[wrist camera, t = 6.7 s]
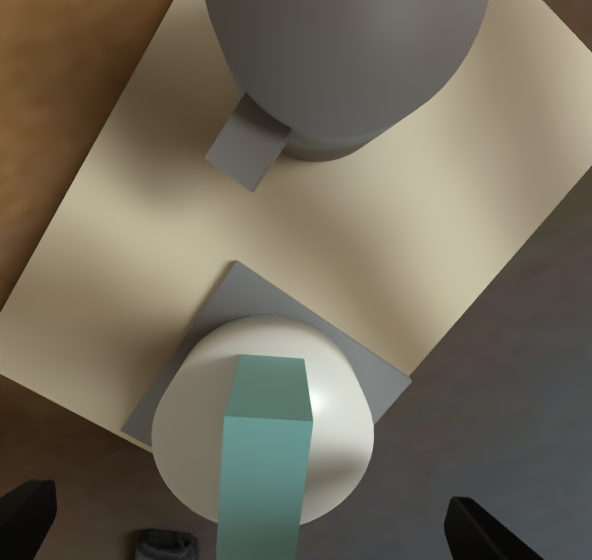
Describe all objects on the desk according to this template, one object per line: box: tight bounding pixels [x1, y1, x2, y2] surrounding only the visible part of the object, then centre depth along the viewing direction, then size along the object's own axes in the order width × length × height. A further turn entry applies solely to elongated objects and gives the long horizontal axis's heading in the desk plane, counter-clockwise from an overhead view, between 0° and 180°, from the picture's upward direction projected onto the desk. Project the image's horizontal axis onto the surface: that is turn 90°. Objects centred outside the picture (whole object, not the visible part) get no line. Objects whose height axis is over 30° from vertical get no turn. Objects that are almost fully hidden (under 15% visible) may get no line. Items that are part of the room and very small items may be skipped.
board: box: [0, 0, 592, 453], centre depth 8 cm, size 18×12×5 cm, turn 144°
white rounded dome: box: [151, 314, 374, 560], centre depth 8 cm, size 6×6×4 cm
